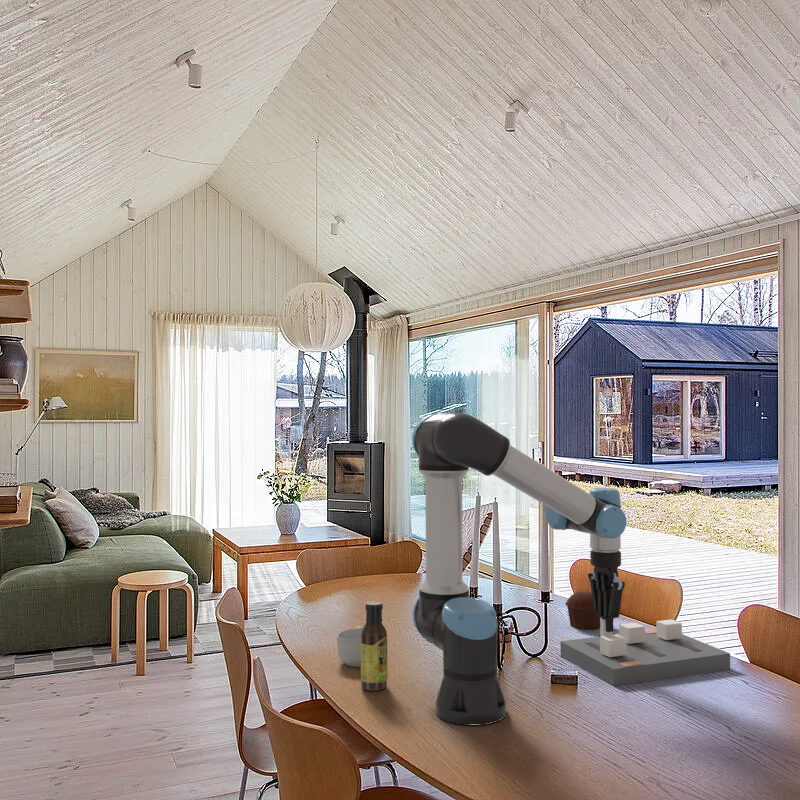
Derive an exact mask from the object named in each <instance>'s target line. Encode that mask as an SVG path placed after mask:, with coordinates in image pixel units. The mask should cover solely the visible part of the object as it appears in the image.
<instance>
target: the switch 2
mask: <svg viewBox="0 0 800 800" xmlns="http://www.w3.org/2000/svg"><path fill="white" fill-rule="evenodd" d="M655 624H656V625H655V626H656V628H655V630H656V636H657V637H660V638H662V639H664V640H672V639H680V638H682V634H683V626H682V622H680V621H677V620H675V619H664V620H657V621H656V622H655Z"/></svg>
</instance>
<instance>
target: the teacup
mask: <svg viewBox="0 0 800 800" xmlns="http://www.w3.org/2000/svg"><path fill="white" fill-rule="evenodd" d="M362 629H363V627H362V626H357V627H354V628H353V627H352V628H348V629H344V630H342V631H339V632H338V633H337V634H336V639H337V641H336V644H337V652H338V657H339V659H340V661H341V662H342V663H344V664H345V665H346V666H348V667H351V666H352V668H355V667H356V668H361V632H362Z"/></svg>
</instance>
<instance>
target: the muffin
mask: <svg viewBox="0 0 800 800" xmlns="http://www.w3.org/2000/svg"><path fill="white" fill-rule="evenodd" d="M565 606H566V607H567V612H568V617H569V618H568V620H569V623H570V627H571V628H574V629H576V630H583V631H595V630H598V629H599V630H600V617H599V616H598V613H597V612H595V611H594V606H593V599H592V592H591V591H579V592H575V593H573V594H572V595H570V597H568V599H567V600H566V602H565Z"/></svg>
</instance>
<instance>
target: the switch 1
mask: <svg viewBox="0 0 800 800" xmlns="http://www.w3.org/2000/svg"><path fill="white" fill-rule="evenodd" d="M599 637H600V653H602V654H604V655H606V656H608V657H616V656H623V655H627V645H626V638H624V637H621V636H619V635H614V634H613V635H609V636H599Z"/></svg>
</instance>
